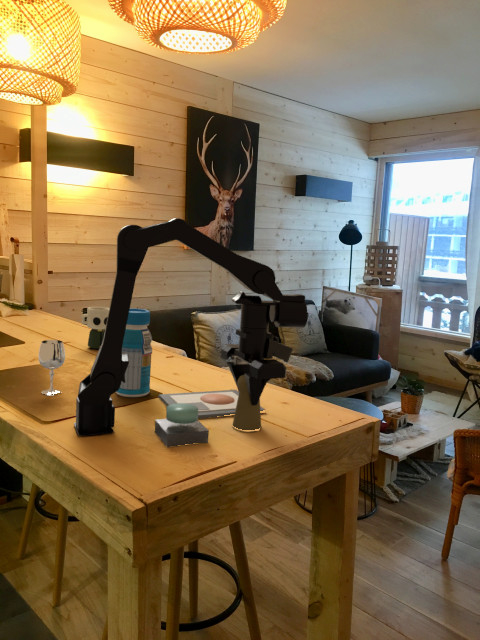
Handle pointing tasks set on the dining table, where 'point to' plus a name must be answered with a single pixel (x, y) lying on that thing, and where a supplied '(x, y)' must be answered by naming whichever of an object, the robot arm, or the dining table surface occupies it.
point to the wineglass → (51, 359)
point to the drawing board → (206, 402)
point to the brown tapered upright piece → (246, 409)
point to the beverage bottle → (137, 354)
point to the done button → (182, 413)
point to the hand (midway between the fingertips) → (248, 401)
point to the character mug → (96, 325)
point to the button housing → (181, 432)
